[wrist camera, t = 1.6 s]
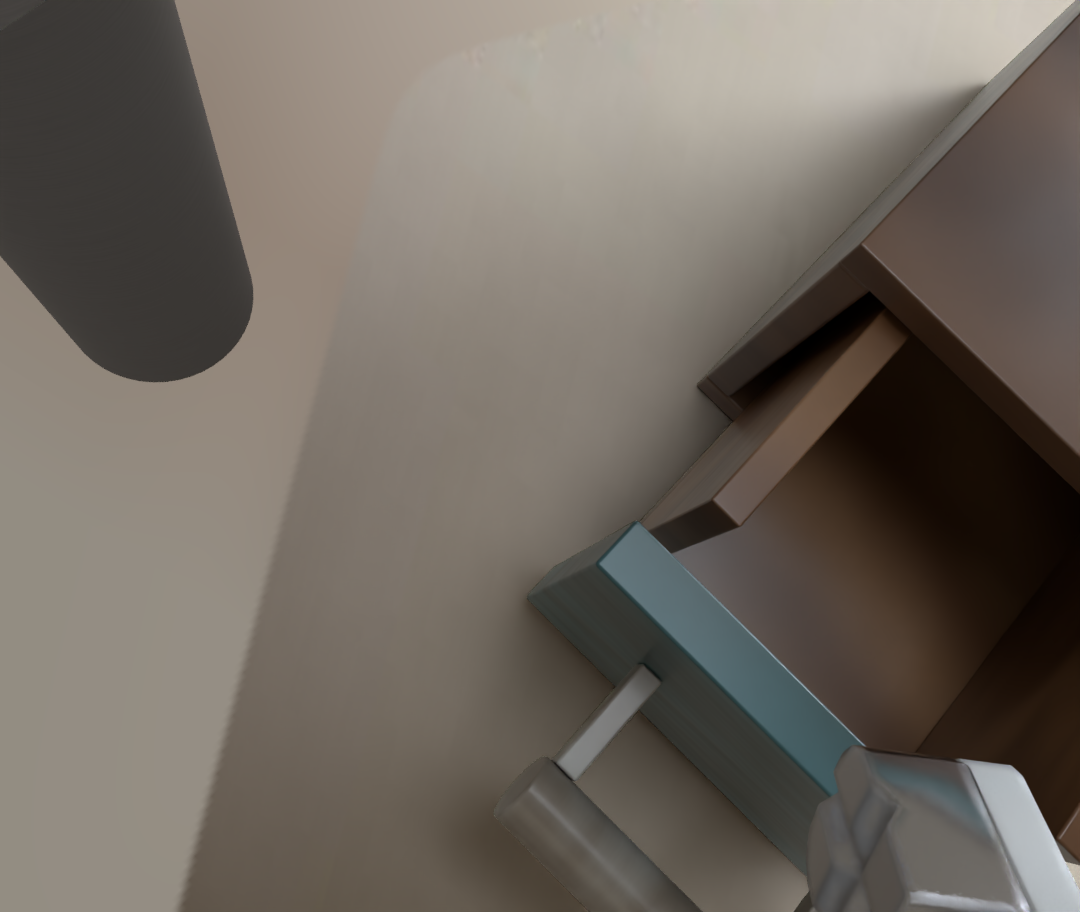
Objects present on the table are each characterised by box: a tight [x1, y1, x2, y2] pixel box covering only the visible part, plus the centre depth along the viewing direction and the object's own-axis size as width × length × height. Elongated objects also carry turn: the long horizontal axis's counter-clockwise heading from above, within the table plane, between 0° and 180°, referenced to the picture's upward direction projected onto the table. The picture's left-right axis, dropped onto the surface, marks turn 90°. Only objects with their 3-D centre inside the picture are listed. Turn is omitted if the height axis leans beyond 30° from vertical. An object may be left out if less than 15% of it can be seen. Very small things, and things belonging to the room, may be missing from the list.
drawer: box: [494, 291, 1080, 912], centre depth 23 cm, size 19×12×8 cm, turn 137°
